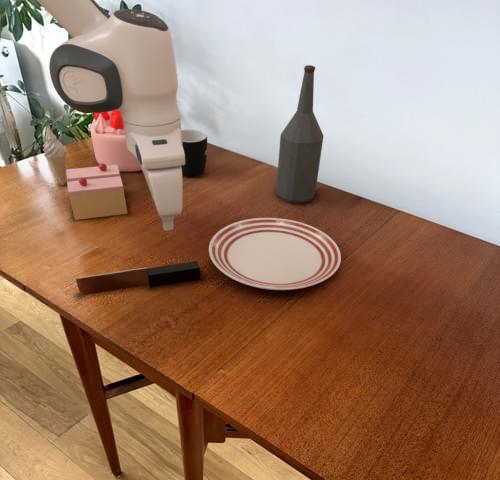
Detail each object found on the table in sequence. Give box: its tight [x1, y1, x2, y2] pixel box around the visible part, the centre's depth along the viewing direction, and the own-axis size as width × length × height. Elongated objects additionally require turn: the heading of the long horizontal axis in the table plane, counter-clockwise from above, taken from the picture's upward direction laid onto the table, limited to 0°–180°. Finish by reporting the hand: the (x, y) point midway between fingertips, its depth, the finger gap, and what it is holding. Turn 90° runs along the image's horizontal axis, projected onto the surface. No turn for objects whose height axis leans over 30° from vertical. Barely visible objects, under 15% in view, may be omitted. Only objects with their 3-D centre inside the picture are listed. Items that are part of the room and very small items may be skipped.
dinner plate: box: [208, 217, 342, 291], centre depth 97 cm, size 28×27×3 cm
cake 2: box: [65, 163, 128, 221], centre depth 110 cm, size 12×12×9 cm
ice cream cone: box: [42, 125, 67, 186], centre depth 115 cm, size 5×5×15 cm
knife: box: [75, 260, 201, 297], centre depth 89 cm, size 23×2×4 cm, turn 108°
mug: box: [181, 128, 208, 178], centre depth 126 cm, size 12×9×10 cm
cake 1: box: [89, 110, 143, 173], centre depth 129 cm, size 20×20×14 cm
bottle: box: [275, 64, 324, 204], centre depth 110 cm, size 10×10×30 cm
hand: (162, 214), depth 82 cm, fingers open, 8 cm apart
